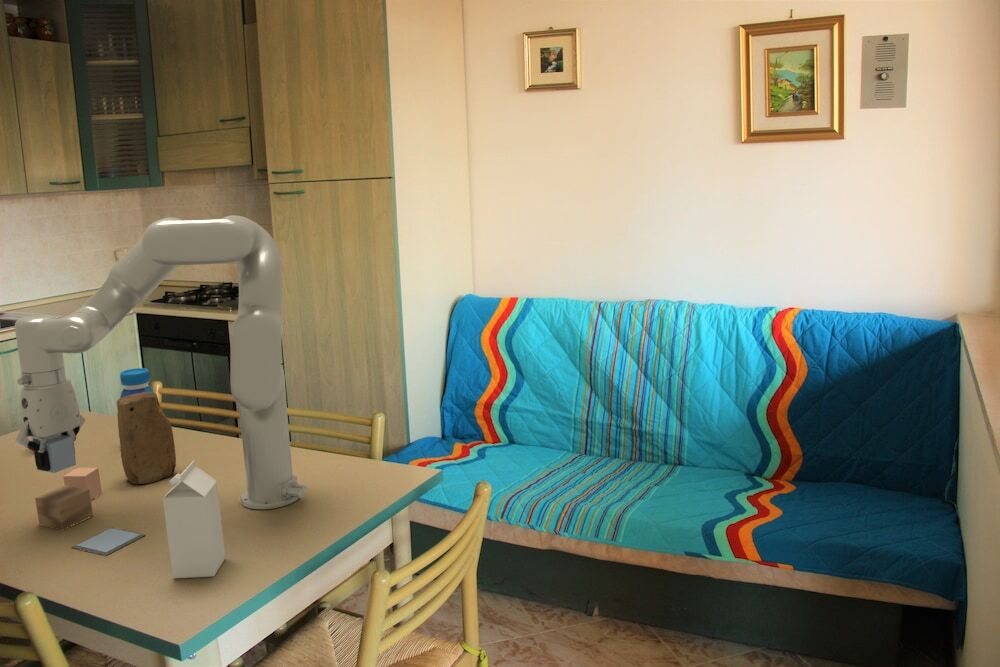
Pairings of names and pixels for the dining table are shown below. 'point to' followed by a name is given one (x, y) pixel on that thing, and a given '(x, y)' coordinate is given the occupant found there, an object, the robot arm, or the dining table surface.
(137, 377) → the beverage bottle
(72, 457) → the slate block
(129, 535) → the swatch
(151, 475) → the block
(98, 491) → the terracotta block
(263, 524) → the dining table surface
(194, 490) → the milk carton
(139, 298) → the robot arm
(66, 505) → the walnut block
